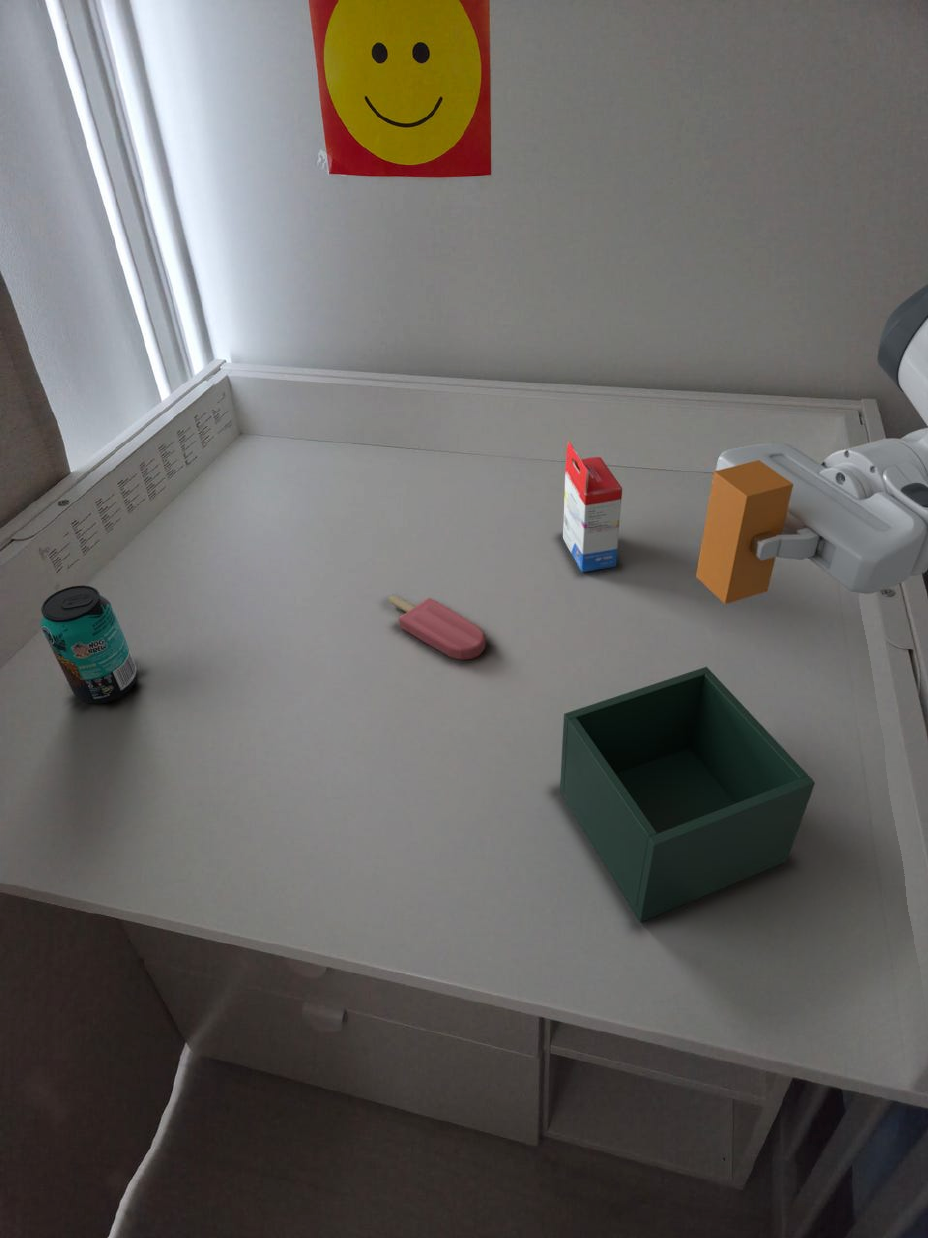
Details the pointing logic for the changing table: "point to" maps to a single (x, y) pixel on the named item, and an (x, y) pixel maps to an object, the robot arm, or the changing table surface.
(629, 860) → the open green box
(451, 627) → the popsicle
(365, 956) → the changing table surface
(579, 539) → the ink box
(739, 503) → the orange rectangular prism
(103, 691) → the beverage can
